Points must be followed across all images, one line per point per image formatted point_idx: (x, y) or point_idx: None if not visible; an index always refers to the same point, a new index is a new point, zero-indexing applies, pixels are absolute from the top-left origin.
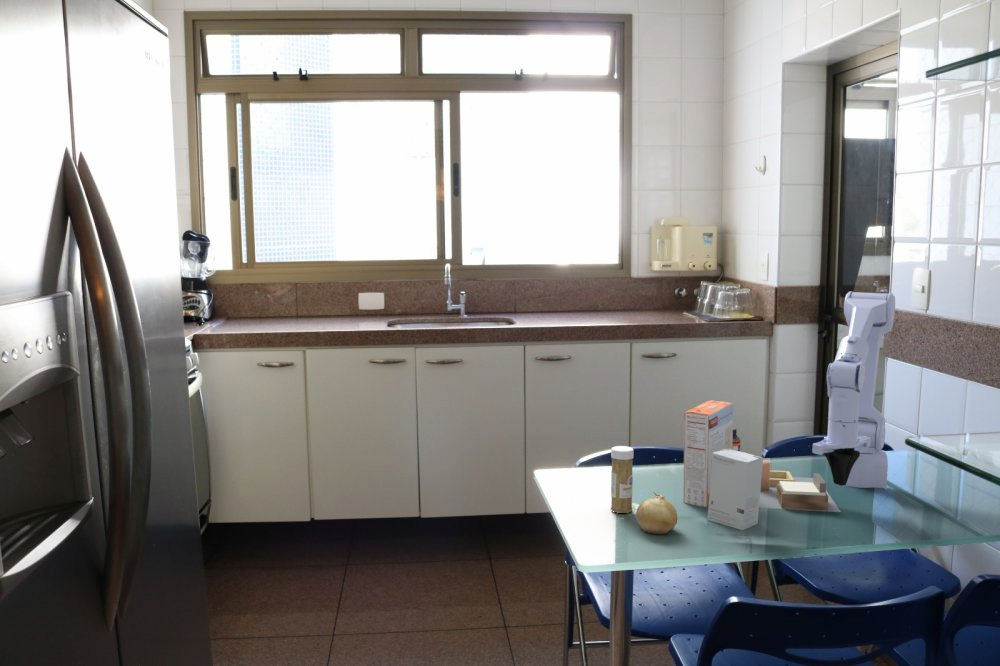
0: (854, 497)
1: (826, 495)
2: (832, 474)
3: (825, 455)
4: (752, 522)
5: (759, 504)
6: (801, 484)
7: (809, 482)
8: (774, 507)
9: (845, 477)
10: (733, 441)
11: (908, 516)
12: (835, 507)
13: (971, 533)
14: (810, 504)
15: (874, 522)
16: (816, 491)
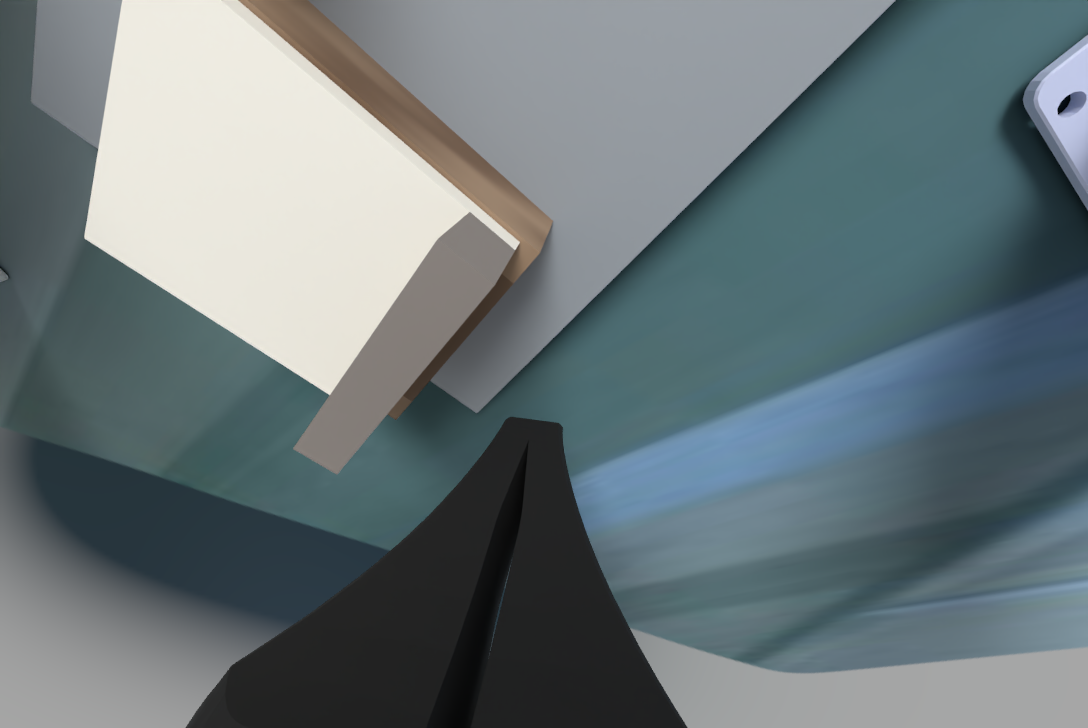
0: (914, 236)
1: (396, 406)
2: (476, 464)
3: (276, 646)
4: None
5: (48, 40)
6: (320, 192)
7: (439, 189)
8: None
9: (514, 545)
10: None
11: (758, 526)
12: (508, 363)
13: (734, 655)
14: None
15: None
16: (330, 375)
